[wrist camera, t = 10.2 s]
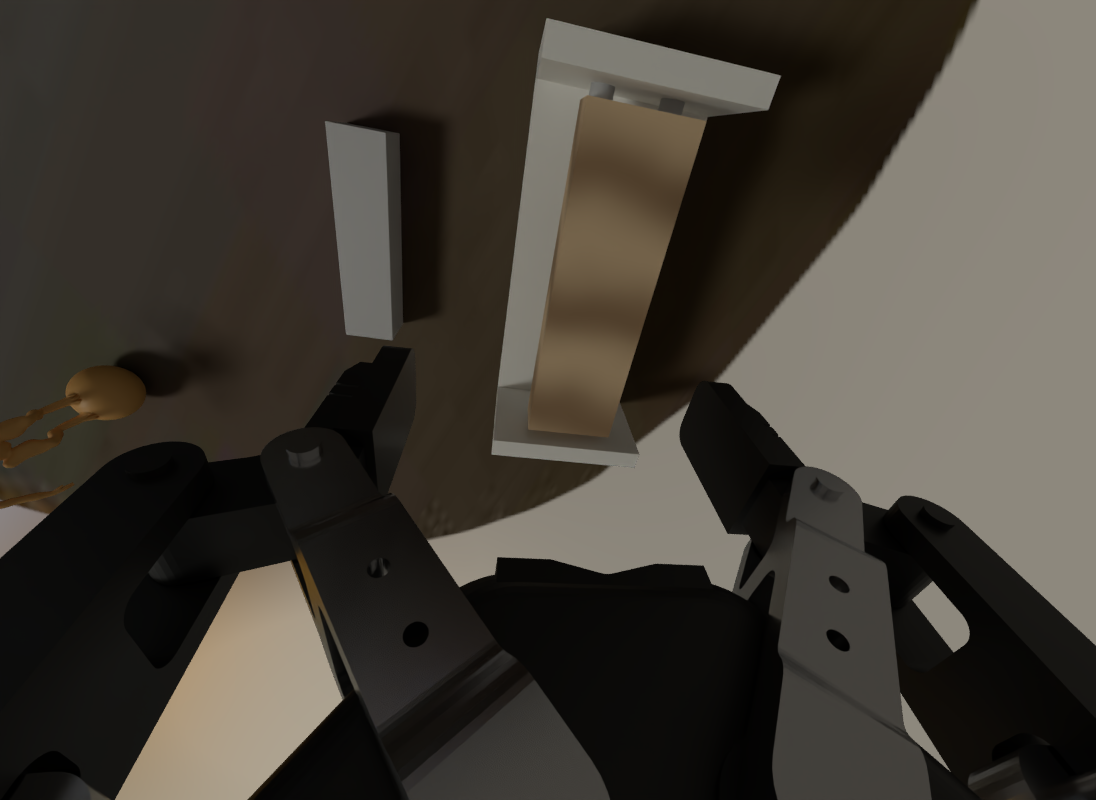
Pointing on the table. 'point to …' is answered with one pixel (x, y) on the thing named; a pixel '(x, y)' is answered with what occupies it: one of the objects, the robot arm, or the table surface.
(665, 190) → the shelf board
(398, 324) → the block
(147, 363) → the table surface
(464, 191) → the table surface
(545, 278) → the shelf frame
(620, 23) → the table surface
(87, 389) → the figurine
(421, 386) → the table surface
